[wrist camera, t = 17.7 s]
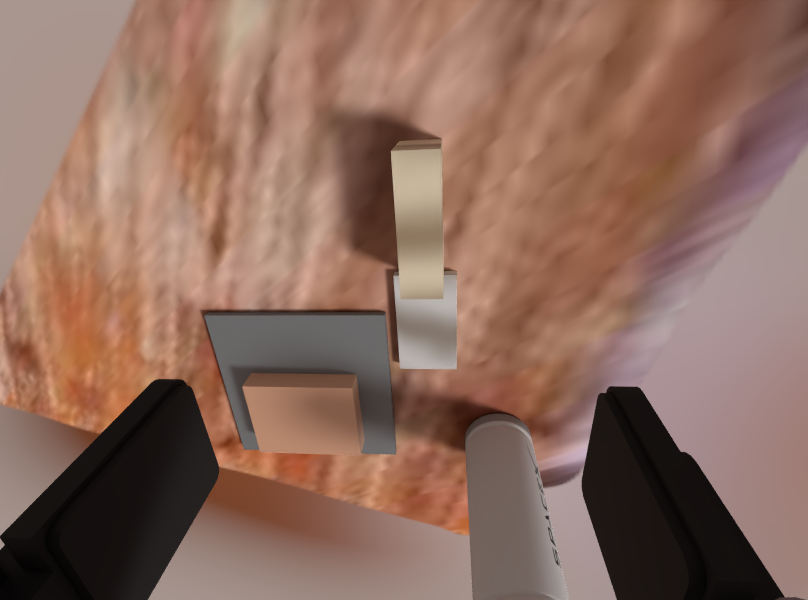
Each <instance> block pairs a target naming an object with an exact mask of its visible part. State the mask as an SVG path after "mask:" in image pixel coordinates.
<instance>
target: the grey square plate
mask: <svg viewBox="0 0 808 600" xmlns="http://www.w3.org/2000/svg"><path fill="white" fill-rule="evenodd" d="M204 317H205V320H206V323H207V327H208V330H209V333H210V337H211V340H212V343H213V347H214V350H215V354H216V357H217V360H218V364H219V367H220V370H221V374H222V377H223V380H224V384H225V387H226V390H227V394H228V397H229V401H230V404H231V407H232V411H233V414H234V417H235V421H236V424H237V427H238V431H239V434H240V438H241V441H242V444H243V448H244V449H246V450H260V449H259V446H258V442H257V439H256V435H255V431H254V428H253V424H252V420H251V417H250V413H249V409H248V406H247V402H246V399H245V395H244V391H243V388H242V386H243V384H244V383H245V381H246V380H247V378H248V377H249V376H250V374H251V373H294V374H356V375H357V383H358V391H359V399H360V407H361V415H362V423H363V431H364V439H365V440H364V445H363V449H362V453H365V454H395V455H396V439H395V426H394V414H393V402H392V389H391V377H390V364H389V352H388V339H387V327H386V314H385V312H207V313H206V314H205V315H204Z"/></svg>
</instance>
